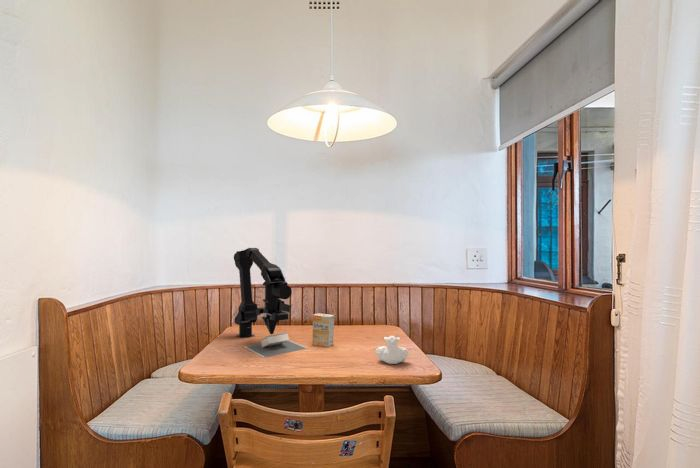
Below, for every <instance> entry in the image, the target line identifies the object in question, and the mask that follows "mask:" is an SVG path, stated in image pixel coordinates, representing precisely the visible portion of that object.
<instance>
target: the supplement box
mask: <svg viewBox="0 0 700 468" xmlns="http://www.w3.org/2000/svg"><path fill="white" fill-rule="evenodd" d="M311 340H312V342H311V343H312V344H311V345H313V346H318V347H319V346H320V347H326V348H330V347H333V346H334V345H335V341H334V340H335V314H327V313H320V312H318V313H314V314H313V315H312V339H311Z"/></svg>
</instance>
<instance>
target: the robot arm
mask: <svg viewBox="0 0 700 468" xmlns="http://www.w3.org/2000/svg"><path fill="white" fill-rule="evenodd" d="M233 260H234V265H235V267H236V268H237V270H238V271H239V272H238V273H239V285H240V299H241V302H240V304H239V306H238V308H237V314H236V316H235V317H234V324H236V325H238V326H239V327H238V330H239V331H238V334H236V337H238V338H240V339H246V338H252V337H256V335H255V334H253V324H254V323H257V321H258V316H260V315H261V314H263V316H261V319H262V320H263V322H264V324H265V326H266V328H267V330H268V332H269V335H274V332H275V329H276V326H277V324H278V322H279V321H286V320H289V317H290V316H289V315H290V314H289V313H290V312H291V309H292V305H290V304H286V303H285V301H283V300H288V299H289V298H290V297H291V296H292V288H291V286H290V285H288V282H287V281H286V277H285V275H284V273H283V271H282V269H281V267H279V266H278V265H276V264H274V263H271V262H270V261H269V260H268V259H267V258H266V257H265V256H264V255H263V254H262V252H260V249H259V248H257V247H248V248H245V249H243V250H237V251H236V252H235V253H234V255H233ZM254 264H255V265H256V267H257V268H258V269H259V270H260V276H261V277H262V279H263V280H264V282H263V283H262V286H264V298H263V299H262V302H264V306H260V307H258V303H255V302H254V301H253V291H252V279H251V278H252V276H251V269H252V267H253V265H254Z"/></svg>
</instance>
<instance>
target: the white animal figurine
mask: <svg viewBox="0 0 700 468" xmlns="http://www.w3.org/2000/svg"><path fill="white" fill-rule="evenodd" d="M383 339H384V341H385V342H386V343H385V345H387V346H385V345H383V346H378V347H377V348H376V349H375V352H376V356H377V358H378V360H380V361H382V362H384V363H386V364H390V365H397V364H399V363H401V362H405V361H406V360H407V358H408V355H409V350H408V349H407V348H406V347H403V346H398V345H399V344H398V342H400V340H401V337H395V335H389V336H388V337H387V336H384V337H383Z"/></svg>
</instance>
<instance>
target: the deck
mask: <svg viewBox="0 0 700 468" xmlns="http://www.w3.org/2000/svg"><path fill="white" fill-rule="evenodd" d="M288 340H290V337H289V332H284V333H278V334H270V335H267V336H266V337H263V338H262V339H261V340H260V342H261V343H260V344H262V348H263V347H268V346H273V345H279V344H282V343H284V342H286V341H288Z"/></svg>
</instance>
